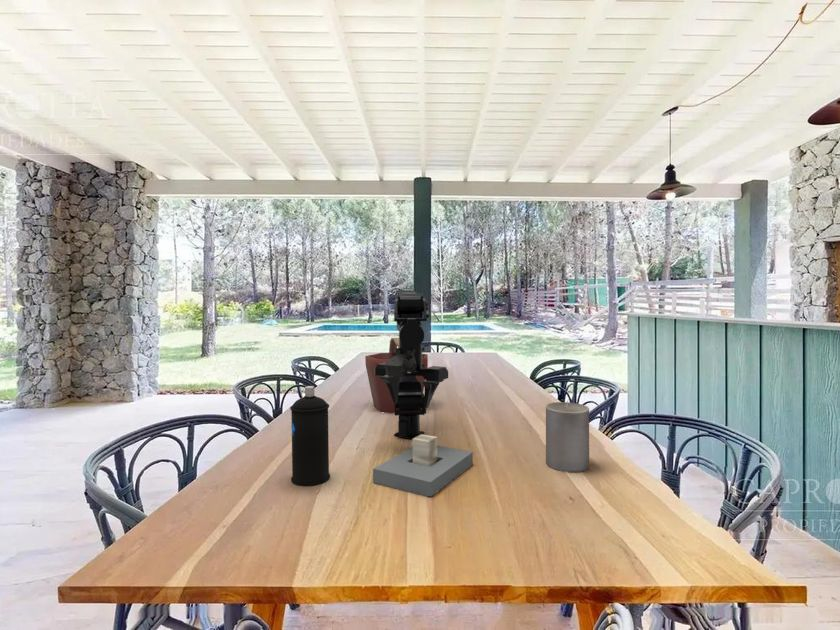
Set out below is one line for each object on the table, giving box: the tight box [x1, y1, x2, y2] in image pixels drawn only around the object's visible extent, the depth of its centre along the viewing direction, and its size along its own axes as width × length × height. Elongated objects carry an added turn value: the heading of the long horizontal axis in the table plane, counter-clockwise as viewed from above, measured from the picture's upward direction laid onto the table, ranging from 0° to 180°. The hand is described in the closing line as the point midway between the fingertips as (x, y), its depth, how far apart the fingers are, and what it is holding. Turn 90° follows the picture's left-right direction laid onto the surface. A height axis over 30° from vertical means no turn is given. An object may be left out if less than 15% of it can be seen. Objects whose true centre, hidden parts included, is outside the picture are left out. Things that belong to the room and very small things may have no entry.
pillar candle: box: [545, 400, 590, 473], centre depth 105 cm, size 10×10×15 cm
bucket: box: [365, 337, 429, 414], centre depth 160 cm, size 24×22×25 cm
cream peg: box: [411, 434, 438, 467], centre depth 100 cm, size 4×4×8 cm
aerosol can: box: [289, 385, 331, 487], centre depth 98 cm, size 8×8×20 cm
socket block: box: [372, 445, 474, 498], centre depth 101 cm, size 20×14×3 cm
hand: (410, 405), depth 114 cm, fingers open, 9 cm apart
